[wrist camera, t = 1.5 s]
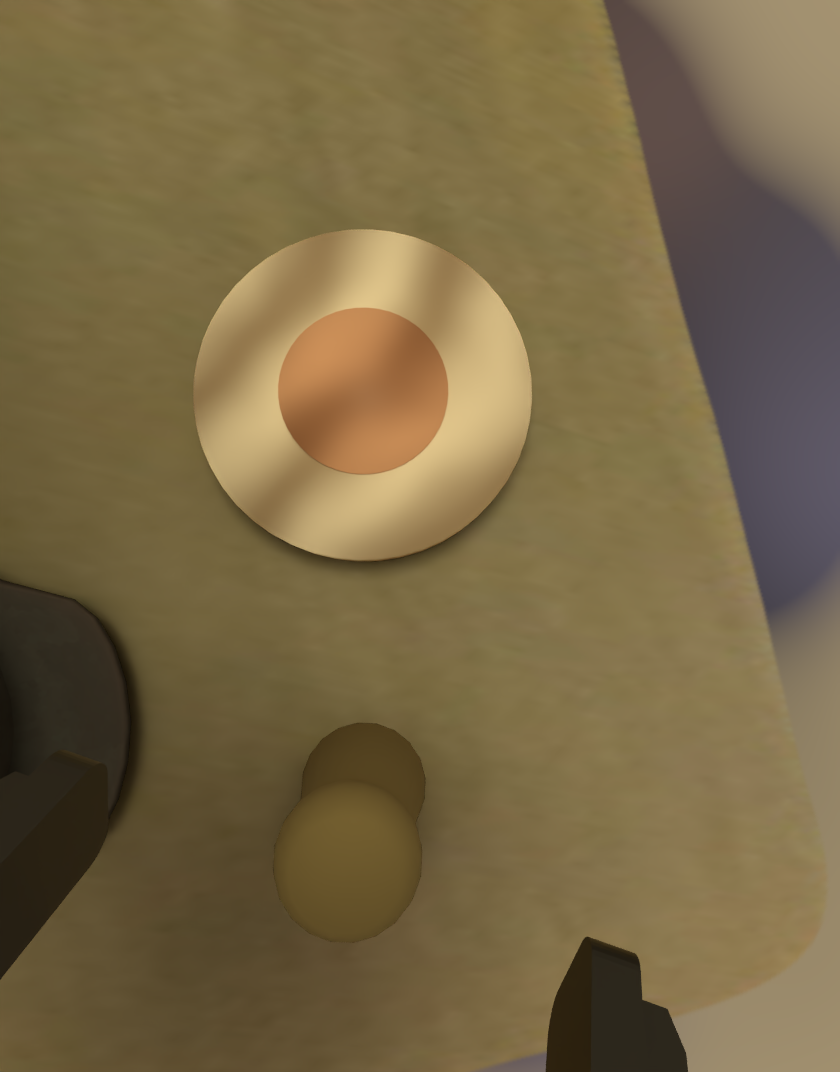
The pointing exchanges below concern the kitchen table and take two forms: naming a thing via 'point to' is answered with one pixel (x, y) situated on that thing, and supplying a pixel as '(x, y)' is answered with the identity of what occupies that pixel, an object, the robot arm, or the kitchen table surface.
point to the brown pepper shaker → (353, 835)
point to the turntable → (362, 395)
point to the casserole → (59, 686)
